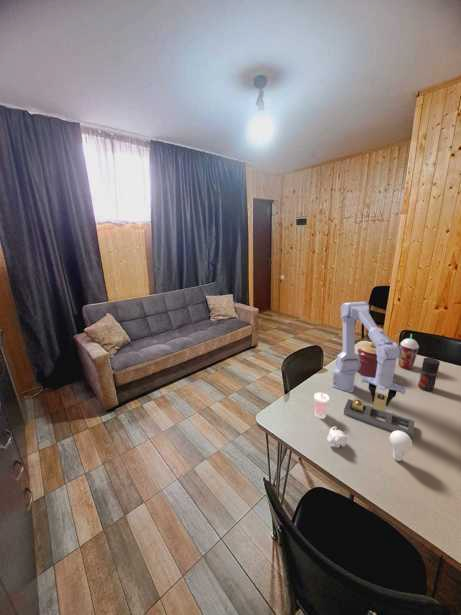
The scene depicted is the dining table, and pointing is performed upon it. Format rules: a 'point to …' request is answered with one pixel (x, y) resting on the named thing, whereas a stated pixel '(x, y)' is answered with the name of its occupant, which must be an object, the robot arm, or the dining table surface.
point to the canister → (368, 360)
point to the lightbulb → (400, 444)
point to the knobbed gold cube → (380, 402)
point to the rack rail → (380, 423)
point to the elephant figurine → (337, 437)
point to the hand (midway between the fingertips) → (380, 402)
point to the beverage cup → (321, 404)
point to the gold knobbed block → (358, 406)
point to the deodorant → (428, 374)
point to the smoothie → (408, 353)
